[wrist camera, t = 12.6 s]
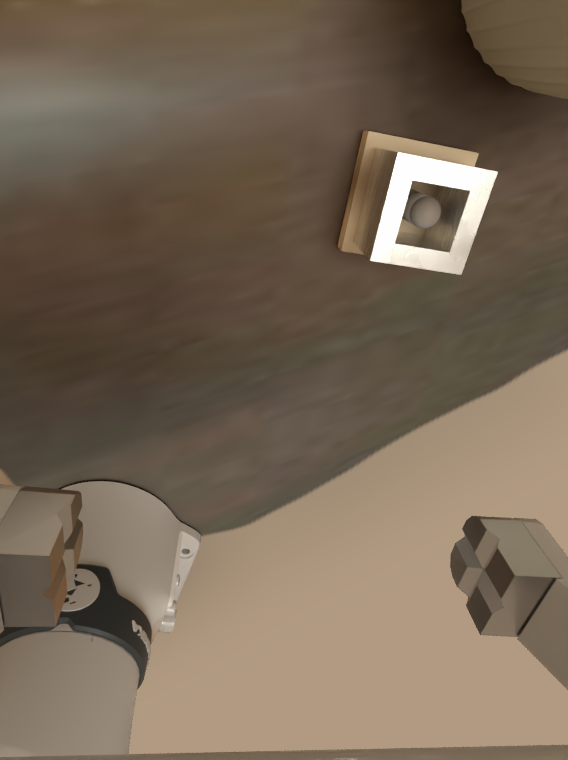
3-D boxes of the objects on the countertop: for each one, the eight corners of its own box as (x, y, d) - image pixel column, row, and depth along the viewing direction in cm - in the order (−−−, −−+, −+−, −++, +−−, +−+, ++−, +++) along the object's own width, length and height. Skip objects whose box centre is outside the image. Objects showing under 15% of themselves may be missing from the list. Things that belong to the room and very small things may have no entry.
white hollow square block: (433, 255, 36) (461, 274, 32) (353, 242, 35) (370, 260, 31) (462, 164, 33) (497, 171, 29) (375, 147, 32) (398, 152, 28)
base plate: (433, 261, 38) (466, 284, 32) (337, 246, 36) (354, 267, 31) (469, 151, 34) (512, 158, 29) (363, 130, 33) (387, 133, 27)
